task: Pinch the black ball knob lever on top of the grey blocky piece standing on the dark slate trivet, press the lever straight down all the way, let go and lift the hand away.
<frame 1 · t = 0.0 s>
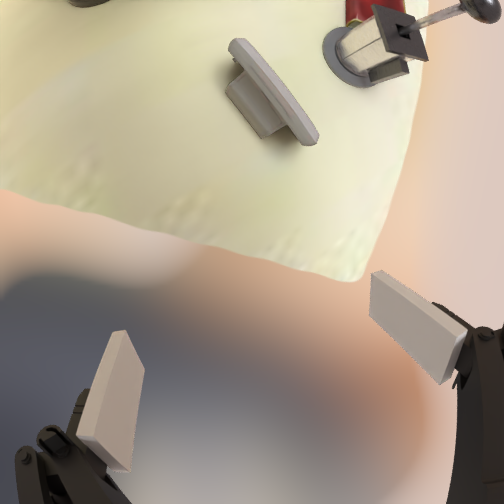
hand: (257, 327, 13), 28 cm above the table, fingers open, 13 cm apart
grey blocky piece: (356, 55, 34), resting on trivet
trivet: (354, 56, 35), on the table
hardcover book: (370, 2, 31), on the table
digital clock: (265, 101, 36), on the table
ball knob lever: (437, 16, 15), point 21 cm above the table, slide at 0.0 cm
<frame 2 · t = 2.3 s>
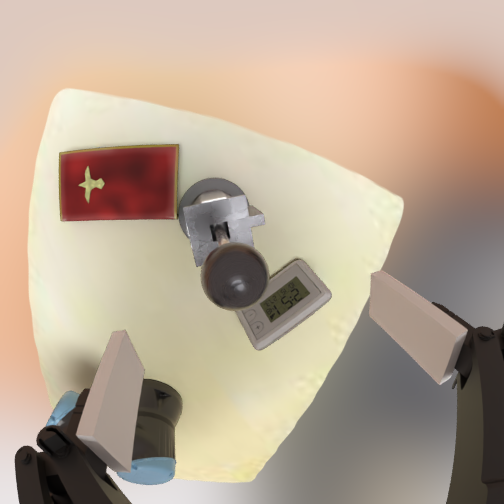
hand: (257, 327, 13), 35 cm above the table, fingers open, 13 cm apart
grey blocky piece: (214, 214, 45), resting on trivet
trivet: (214, 213, 46), on the table
hardcover book: (120, 182, 42), on the table
digital clock: (272, 289, 53), on the table
ball knob lever: (225, 248, 27), point 21 cm above the table, slide at 0.0 cm
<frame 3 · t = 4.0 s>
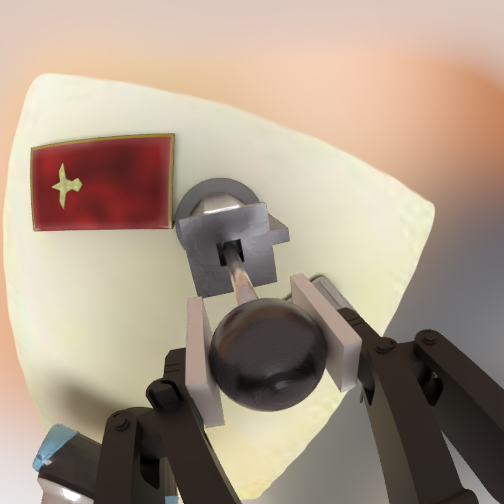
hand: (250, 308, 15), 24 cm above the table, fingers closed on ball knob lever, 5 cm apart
grey blocky piece: (220, 223, 36), resting on trivet
trivet: (219, 222, 37), on the table
hardcover book: (103, 182, 33), on the table
digital clock: (289, 311, 44), on the table
ball knob lever: (242, 286, 18), point 21 cm above the table, slide at 0.0 cm, touching gripper
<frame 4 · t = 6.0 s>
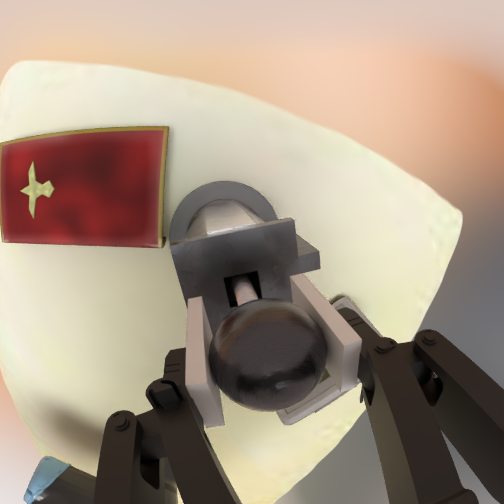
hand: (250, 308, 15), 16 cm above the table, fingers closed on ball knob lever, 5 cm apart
grey blocky piece: (225, 237, 29), resting on trivet
trivet: (224, 235, 30), on the table
hardcover book: (81, 186, 26), on the table
digital clock: (304, 336, 37), on the table
ball knob lever: (242, 286, 18), point 13 cm above the table, slide at 7.5 cm, touching gripper
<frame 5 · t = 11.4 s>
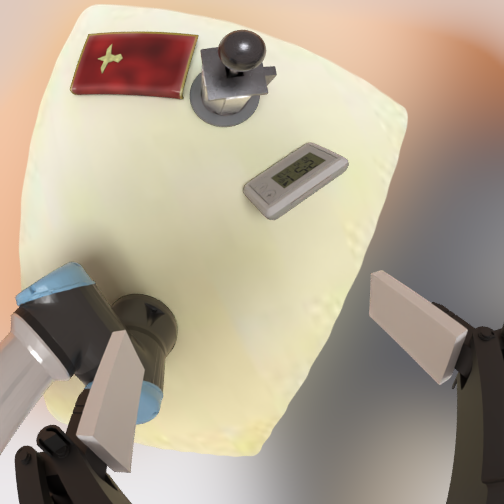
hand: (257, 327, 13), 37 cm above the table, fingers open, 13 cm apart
grey blocky piece: (225, 93, 41), resting on trivet
trivet: (224, 95, 42), on the table
hardcover book: (135, 67, 37), on the table
digital clock: (284, 175, 48), on the table
ball knob lever: (233, 71, 29), point 13 cm above the table, slide at 7.6 cm
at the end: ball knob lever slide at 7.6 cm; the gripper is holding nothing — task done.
